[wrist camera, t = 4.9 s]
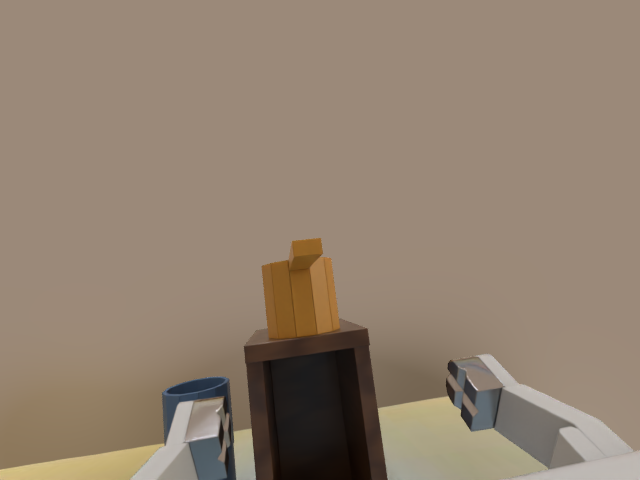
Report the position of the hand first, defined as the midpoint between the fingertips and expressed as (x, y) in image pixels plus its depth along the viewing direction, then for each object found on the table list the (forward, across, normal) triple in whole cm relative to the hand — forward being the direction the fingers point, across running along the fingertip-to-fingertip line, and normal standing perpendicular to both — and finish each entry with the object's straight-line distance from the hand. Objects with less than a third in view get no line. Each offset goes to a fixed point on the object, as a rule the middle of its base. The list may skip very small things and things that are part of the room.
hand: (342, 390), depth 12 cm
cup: (+14, 0, +8) cm, 16 cm away
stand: (+12, 0, +29) cm, 31 cm away
